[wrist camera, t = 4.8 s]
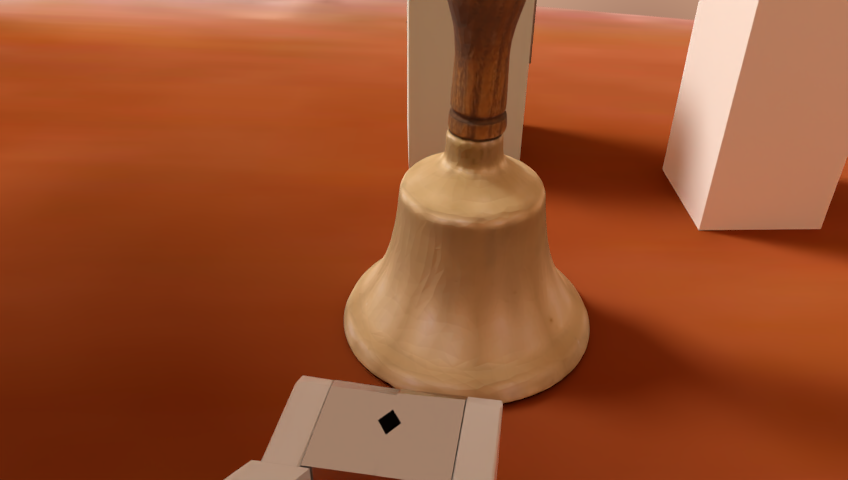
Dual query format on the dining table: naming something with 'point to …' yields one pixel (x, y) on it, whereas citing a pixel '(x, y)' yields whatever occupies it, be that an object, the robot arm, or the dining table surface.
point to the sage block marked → (435, 71)
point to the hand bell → (470, 250)
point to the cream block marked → (761, 114)
